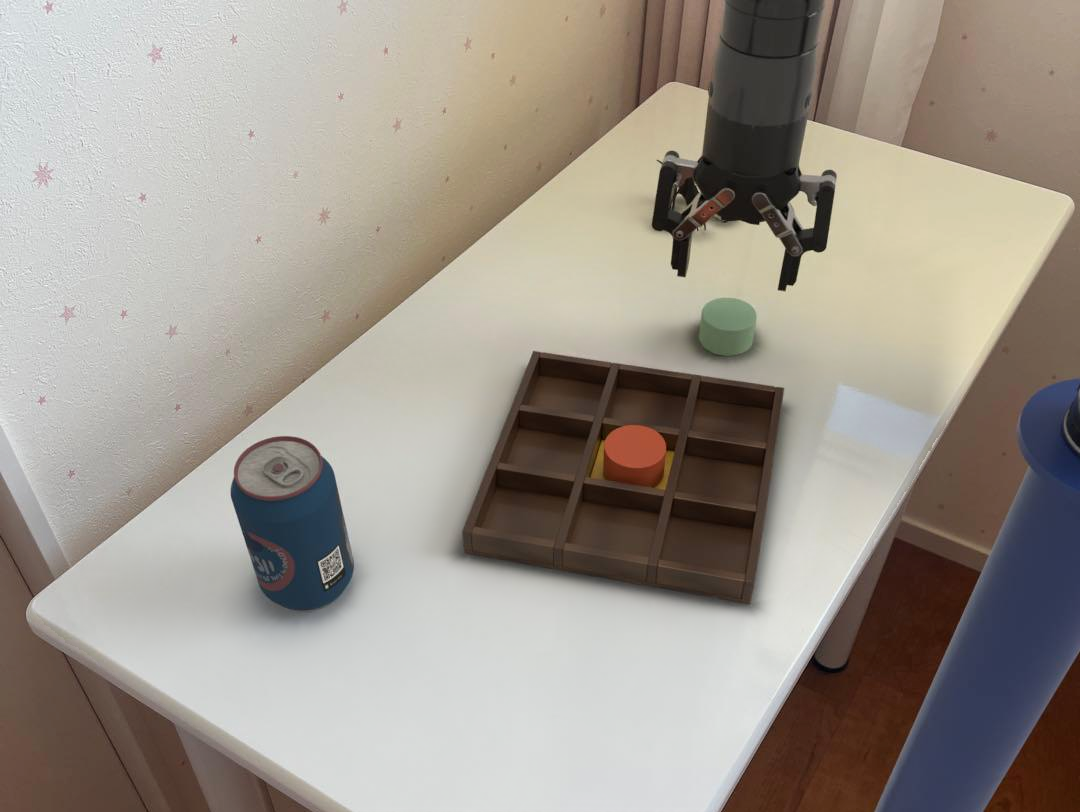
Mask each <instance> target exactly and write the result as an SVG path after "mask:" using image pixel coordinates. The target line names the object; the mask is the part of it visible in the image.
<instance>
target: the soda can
mask: <svg viewBox="0 0 1080 812" xmlns="http://www.w3.org/2000/svg"><path fill="white" fill-rule="evenodd" d="M229 493H230V499H231V502H232V505H233V508H234V511H235V514H236V517H237V521H238V524H239V528H240V530H241V533H242V536H243V540H244V543H245V546H246V549H247V552H248V555H249V558H250V561H251V564H252V567H253V570H254V573H255V577H256V581H257V583H258V586H259V589H260V590H261V592H262V594H263V595H264V596H266V597H267V598H268V599H269V600H270V601H271V602H273V603H274V604H276V605H278V606H280V607H283V608H285V609H287V610H290V611H295V612H313V611H317V610H321V609H323V608H326V607H328V606H329V605H331V604H333V603H334V602H335V601H336V600H337V599H338V598H339V597H340V596H341V595H342V594H343V593H344V591H345V590H346V589H347V587H348V586H349V584H350V582H351V580H352V578H353V575H354V570H355V561H354V556H353V551H352V546H351V543H350V538H349V533H348V529H347V524H346V520H345V516H344V510H343V506H342V502H341V497H340V493H339V489H338V483H337V479H336V475H335V471H334V469H333V467H332V465H331V464H330V463H329V461H328V460H327V459H326V458H325V457H324V456H322V455H321V452H320V450H319V449H318V448H317V447H316V446H315V445H314V444H313V443H311V442H310V441H309V440H306V439H304V438H301V437H299V436H298V437H297V436H292V435H280V436H273V437H268V438H265V439H262V440H260V441H257V442H255V443H253V444H252V445H250V446H249V447H247V448H246V449H245V450H244V451H243V452H242V453H241V454H240V455H239V457H238V458H237V460H236V461H235V464H234V467H233V478H232V481H231V485H230V492H229Z"/></svg>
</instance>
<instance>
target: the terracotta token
mask: <svg viewBox="0 0 1080 812" xmlns="http://www.w3.org/2000/svg"><path fill="white" fill-rule="evenodd" d="M665 456H666V443H665V441H664V439H663V437H662V436H661V435H660V434H659V433H658V432H656V431H655V430H653V429H651V428H648V427H645V426H640V425H628V426H623V427H620V428H617V429H615V430H614V431H612V432H611V433H610V434H609V435H608V436H607V438H606V440H605V442H604V459H603V474H604V477H605V479H606V480H608V481H614V482H621V483H627V484H633V485H639V486H645V487H651V488H655V487H656V486H657V485H658V484H659V483H660V482H661V480H662V479H663V475H664V466H665Z"/></svg>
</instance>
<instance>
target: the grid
mask: <svg viewBox="0 0 1080 812" xmlns="http://www.w3.org/2000/svg"><path fill="white" fill-rule="evenodd" d="M784 394H785V388H784V387H781V386H775V385H769V384H763V383H762V384H761V383H754V382H748V381H742V380H734V379H727V378H721V377H720V378H719V377H713V376H708V375H707V376H706V375H700V374H694V373H686V372H679V371H674V370H665V369H659V368H652V367H647V366H646V367H645V366H640V365H632V364H625V363H619V362H612V361H605V360H598V359H591V358H585V357H577V356H571V355H564V354H557V353H550V352H545V351H543V352H542V351H538V350H533V351H532V353H531V356H530V358H529V360H528V364H527V365H526V368H525V371H524V374H523V376H522V378H521V381H520V383H519V386H518V388H517V391H516V393H515V396H514V399H513V401H512V403H511V406H510V409H509V412H508V414H507V416H506V418H505V421H504V424H503V427H502V429H501V432H500V434H499V437H498V439H497V442H496V444H495V446H494V449H493V452H492V454H491V457H490V460H489V462H488V465H487V467H486V470H485V473H484V475H483V478H482V480H481V482H480V485H479V487H478V490H477V492H476V495H475V499H474V501H473V502H472V505H471V508H470V511H469V513H468V516H467V518H466V521H465V523H464V526H463V529H462V530H461V531H462V532H461V533H462V534H461V535H462V544H463V553H465V554H469V555H476V556H480V557H481V556H482V557H486V558H492V559H498V560H503V561H509V562H513V563H520V564H526V565H531V566H537V567H543V568H548V569H554V570H558V571H565V572H570V573H574V574H575V573H576V574H581V575H586V576H592V577H597V578H603V579H609V580H615V581H620V582H625V583H631V584H637V585H642V586H649V587H654V588H657V589H658V588H659V589H665V590H670V591H676V592H681V593H686V594H691V595H697V596H702V597H703V596H704V597H709V598H713V599H714V598H715V599H719V600H724V601H730V602H736V603H743V604H747V605H751V603H752V597H753V593H754V589H755V583H756V577H757V570H758V563H759V557H760V550H761V546H762V545H761V544H762V537H763V532H764V526H765V518H766V512H767V505H768V499H769V494H770V493H769V491H770V487H771V479H772V472H773V465H774V458H775V452H776V446H777V440H778V435H779V433H778V432H779V426H780V421H781V414H782V407H783V401H784ZM628 425H640V426H645V427H648V428H651V429H653V430H655V431H656V432H658V433H659V434H660V435H661V436H662V437H663V439H664V441H665V443H666V456H665V466H664V475H663V479H662V480H661V482H660V483H659V484H658V485H657V486H656V487H655V488H651V487H645V486H639V485H633V484H627V483H621V482H614V481H608V480H606V479H605V477H604V474H603V459H604V442H605V440H606V438H607V436H608V435H609V434H610V433H611V432H612V431H614V430H615V429H617V428H620V427H623V426H628Z"/></svg>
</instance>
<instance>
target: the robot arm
mask: <svg viewBox="0 0 1080 812" xmlns="http://www.w3.org/2000/svg"><path fill="white" fill-rule="evenodd" d="M722 2H723V3H722V12H721V20H720V26H719V27H720V28H719V34H718V40H717V44H716V48H715V52H714V56H713V61H712V66H711V74H710V80H709V82H708V87H707V94H708V99H707V109H706V116H705V117H706V118H705V126H704V133H703V143H702V152H701V156H700V157H699V159H698V160H692V159H686V158H681V157H680V154H679V153H678V152H677V151H675V150H667V152H666V153H665V154H664V157H663V159H662V164H661V167H660V169H659V174H658V180H657V186H656V192H655V199H654V206H653V213H652V217H651V218H652V219H651V226H652V229H653V230H654V231H657V232H663V231H664V232H667V233H668V234H670V235H671V237H672V248H671V257H670V266H671V269H672V270H676V271H677V273H676V274H677V275H676V277H678V278H686V277H687V273H688V269H689V265H690V258H691V257H690V256H691V250H692V249H691V248H692V242H693V241H692V240H693V233H694V231H696V230H697V228H698V229H699V228H701V227H704V224H705V223H706V224H707V222H709V221H710V220H711V219H712V218H713V217H715V216H717V217H720V220H721V221H727V222H737V221H739V222H740V221H742V222H744V223H746V224H749V225H754V226H760V223H763V222H765V223H766V224H767V225H768V227H769V228H770V230H771V232H772V234H773V235H774V237H775V238H776V239H779V241H780V242H781V244H782V246H783V247H784V253H783V259H782V264H781V269H780V274H779V280H778V285H777V291H778V292H779V291H780V292H786V291H787V287H788V286H789V287H793V286H795V284H796V282H797V279H798V275H799V270H800V265H801V260H802V256H803V255H804V254H805V253H807V252H811V251H813V252H815V253H823V252H824V251H825V250H826V249H827V246H828V240H829V233H830V228H831V227H830V226H831V220H832V213H833V205H834V199H835V194H836V193H835V192H836V187H837V178H838V174H837V173H836V171H835V170H833V169H826V170H824V171H822V173H821V175H813V174H802V171H801V168H800V161H801V156H802V155H801V154H802V151H803V150H802V149H803V144H804V139H805V134H806V127H807V124H808V118H809V113H810V108H811V104H812V101H813V96H814V92H813V91H814V87H815V86H814V85H815V81H816V74H817V65H818V47H819V40H820V35H821V31H822V25H823V19H824V14H825V8H826V2H827V0H723V1H722ZM690 177H693V179H694V182H695V185H697V189H698V191H699V194H697V196H696V197H695V198H694V200H693V201H692V202H691V203H690V204H689V205H688V206H687V205H686V207H684V209H683V210H681V212H679V211H677V210H675V209H674V210H672V204H673V203H672V201H673V195H674V189H675V188H677V189H678V188H679V187H681V186H682V185H683V184H684V181H685V180H686V179H687V178H690ZM800 192H803V193H804V194H805V195H806V198H807V202H808V203H809V204H810V205H811V206H812V207H816V209H815V214H814V215H815V216H814V224H813V227H809V228H804V227H803V226H802V224H801V222H800V221H799V219H798V218H797V216H796V213H795V209H794V207H793V205H792V203H791V201H792V200H793V199H794V198H796V196H797V195H799V193H800ZM1077 391H1078V392H1077V395H1076V397H1075V399H1074V400H1073V402H1072V404H1071V406H1070V409H1069V410H1068V411H1067V413H1066V415H1065V418H1064V420H1063V422H1062V436H1063V439H1064V441H1065V443H1066V444H1067V446H1068V447H1069V449H1070V450H1071V451H1072V452H1073V453H1074V454H1075V455H1076V456H1077V457H1078V458H1079V459H1080V384H1079V386H1078V389H1077Z"/></svg>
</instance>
